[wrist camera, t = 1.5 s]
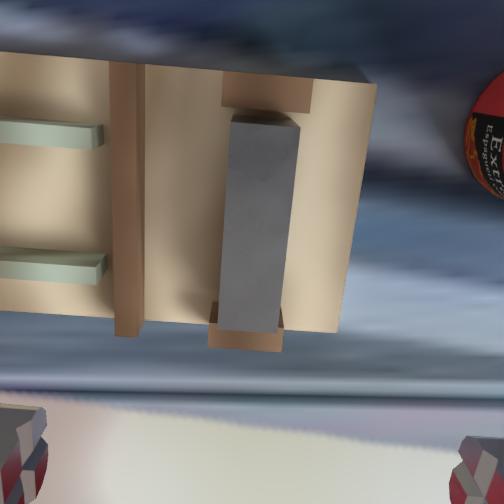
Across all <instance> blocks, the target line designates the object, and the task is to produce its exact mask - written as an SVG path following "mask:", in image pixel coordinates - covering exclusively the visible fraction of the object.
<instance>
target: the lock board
mask: <svg viewBox="0 0 504 504" xmlns="http://www.w3.org/2000/svg"><path fill="white" fill-rule="evenodd" d="M377 86H378V84H369V83H357V82H346V81H334V80H323V79H313V78H302V77H290V76H279V75H267V74H256V73H244V72H233V71H219V70H208V69H196V68H185V67H173V66H162V65H150V64H140V63H129V62H118V61H105V60H93V59H82V58H70V57H59V56H47V55H36V54H24V53H13V52H1V51H0V310H5V311H20V312H34V313H49V314H64V315H79V316H93V317H108V318H114V321H115V336H119V337H134V338H137V336H138V334H139V332H140V329H141V327H142V324H143V322H144V320H152V321H167V322H182V323H196V324H209V330H208V347H210V348H226V349H241V350H256V351H271V352H281V350H282V342H283V333H284V329H285V330H299V331H314V332H329V333H337V330H338V324H339V318H340V312H341V306H342V300H343V293H344V287H345V281H346V275H347V269H348V263H349V257H350V251H351V245H352V239H353V232H354V226H355V220H356V214H357V208H358V202H359V196H360V190H361V184H362V178H363V172H364V165H365V159H366V153H367V147H368V141H369V135H370V129H371V123H372V117H373V111H374V104H375V98H376V92H377ZM233 114H234V115H246V116H258V117H270V118H282V119H293V120H294V121H295V122H296V123H297V124H298V125H299V126H300V127H301V130H300V139H299V148H298V157H297V165H296V174H295V183H294V192H293V201H292V209H291V218H290V227H289V236H288V244H287V253H286V262H285V271H284V279H283V288H282V297H281V306H280V315H279V323H278V332H277V333H263V332H248V331H234V330H219V329H217V324H218V308H219V293H220V277H221V261H222V245H223V230H224V214H225V198H226V182H227V167H228V151H229V135H230V121H231V119H232V116H233Z"/></svg>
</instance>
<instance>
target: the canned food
mask: <svg viewBox="0 0 504 504" xmlns="http://www.w3.org/2000/svg"><path fill="white" fill-rule="evenodd" d="M464 149H465V154H466V158H467V161H468V164H469V166H470V168H471V170H472V172H473V174H474V176H475V178H476V179H477V180H478V181H479V182H480V183H481V185H482V186H483V187H484V188H486V189H487V190H488V191H490V192H491V193H493V194H494V195H496V196H498V197H500V198H502V199H504V71H503V72H502V73H501V74H500V75H498V76H497V77H496V78H495V79H494V80H493V81H491V82H490V83H489V84H488V86H487V87H486V88H485V89H484V90H483V92H482V93H481V94H480V95H479V97H478V99H477V100H476V102H475V104H474V105H473V107H472V109H471V112H470V114H469V117H468V120H467V123H466V128H465V134H464Z"/></svg>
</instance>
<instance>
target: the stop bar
mask: <svg viewBox="0 0 504 504" xmlns="http://www.w3.org/2000/svg"><path fill="white" fill-rule="evenodd" d="M300 130H301V127H300V126H299V125H298V124H297V123H296V122H295V121H294V120H293V119H282V118H270V117H258V116H246V115H234V114H233V116H232V119H231V121H230V135H229V151H228V167H227V182H226V198H225V214H224V230H223V245H222V261H221V277H220V293H219V308H218V324H217V329H219V330H234V331H248V332H263V333H277V332H278V323H279V315H280V306H281V297H282V288H283V279H284V271H285V262H286V253H287V244H288V236H289V227H290V218H291V209H292V201H293V192H294V183H295V174H296V165H297V157H298V148H299V139H300Z"/></svg>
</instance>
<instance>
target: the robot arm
mask: <svg viewBox="0 0 504 504" xmlns="http://www.w3.org/2000/svg"><path fill="white" fill-rule="evenodd" d="M46 426H47V421H46V411H45V410H44V409H43V408H42V407H34V406H23V405H12V404H1V403H0V504H29V503H30V502H32V501H33V500H34V499H36V497H37V495H38V493H39V491H40V489H41V486H42V484H43V480H44V477H45V473H46V469H47V461H48V444H47V443H46V442H45V441H44V439H42V437H41V435H42V433H43V431H44V429H45V428H46ZM458 452H459V454H460V456H461V458H462V460H463V461H462V462H461V463H460V464H459V465H458V466H457V467H455V468H454V469H453V470H452V474H451V478H450V482H449V492H450V501H451V504H504V438H497V437H480V436H466V437H465V439H464V440H463V441H462V443H461V446H460V449H459V451H458Z"/></svg>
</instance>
